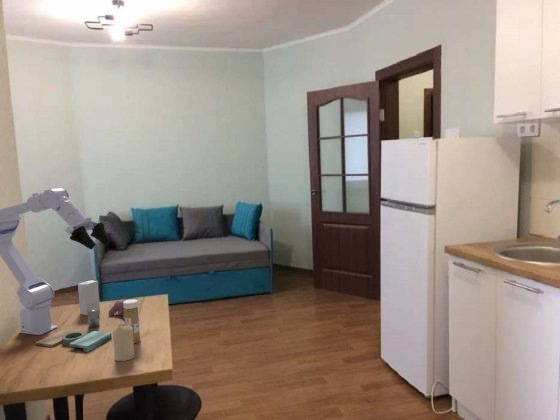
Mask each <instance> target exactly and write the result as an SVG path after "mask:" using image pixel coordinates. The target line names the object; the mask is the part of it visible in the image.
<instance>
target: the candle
mask: <svg viewBox="0 0 560 420" xmlns="http://www.w3.org/2000/svg"><path fill="white" fill-rule="evenodd" d="M112 335H113V336H112V338H113V351H114V352H113V353H114V360H115V361H118V362H126V361H129V360H132V359H134V357H135V345H134V344H135V343H134V341H133V328H132V327H131V326H130V325H128V324H125V322H124V323H122V324H121V323H120V324H119V323H118V325H116V327H115V328H114V329H113V330H112Z"/></svg>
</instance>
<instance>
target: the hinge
mask: <svg viewBox="0 0 560 420" xmlns="http://www.w3.org/2000/svg"><path fill="white" fill-rule="evenodd" d="M112 338H113V336H112V332H107V331H105V332H104V331H97V330H93V331H90V332H89V333H87V334H86V333H85V332H83V331H74V330H73V331H71V330H64V329H60V330H58V331H57V332H54V333H52V334H50V335H48V336H45V337H44V338H42V339H40V340H38V341H36V342H35V344H34V345H35V346H41V347H42V346H43V347H50V348H54V347H56V346H58V345H60V344H63V346H67V347H73V348H78V349H79V348H80V349H83V352H87V353H88V352H90V351H92V350H94V349H95V348H97V347H99V346H101V345H103V344H104V343H106V342H107V341H109V340H112Z"/></svg>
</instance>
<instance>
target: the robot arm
mask: <svg viewBox="0 0 560 420" xmlns="http://www.w3.org/2000/svg"><path fill="white" fill-rule="evenodd" d="M50 209H52V210H53V211H55V212H56V214H57V215H58V216H59V217H60V218H61V219H63V221H64V222H65V224H67V225H68V226H67V227H66V228H65V230H64V231H65V232H66V234H67V235H70V236H69V240H71V241H73V242H76V243H79V244H81V245H82V246H83V247H86V248H87V249H89V250H93V249H95V248H94V247H95V246H96V243H95V241H94V240H93V239H92V237H93V238H94V239H96V240H98V241H99V242H100V243H101V244H102V245H104V246H106V247H107V246H108V245H109V244H110V243H111V240H110V238H109V236H108V234H107V232H106V229H105V225H104V223H103V222H99V221H97V220H96V221H95V220H93V217H92V216H88V217H87V216H86V215H85V214H84V213H83V212H82V210H80V208H79V207H78V206H77V205H76V204H75V203H74V202H73V201H72V200H71V199H70V197H69V192H68V191H67V189H64V188H51V189H50V188H49V189H45V190H43V192H40V193H39V192H34V193H32V194H31V196H29V197H28V198H27V200H26V201H25V202H21V203H18V204H14V205H11V206H7V207H4V208H1V209H0V258H1V259H2V260H3V262H4V264H5V265H6V266H7V268H8V269H9V271H10V272H11V274H12V275H13V277H14V278H15V280H16V281H17V282H18V284H19V287H18V288H17V290H16V294H17V296H18V297H19V302H20V303H21V305H22V307H21V309H20V311H19V320H20V330H19V331H18V332H19V334H28V335H35V336H42V335H44V334H46V333H48V332H50V331H52V330H55V329H57V328H58V325H54V324H52V314H51V312H52V311H51V303H52V300H53V298H54V297H55V290H54V288H53V287H54V286H52V285H51V284H49V283H48V282H47V281H46V279H44V278H42V277H38V276H36V275H35V273H34V272H33V270H32V269H31V267H30V266H29V264H28V263H27V261H26V260H25V259H24V257H23V256H22V254H21V253H20V251H19V250H18V248H17V247H16V245H15V244H14V242H13V241H12V239H13V238H14V237H15V235H16V232H17V230H18V227H19V224H20V220H21V219H22V217H21V215H23V214H26V213H28V212H32V213H40V212H43V211H46V210H50ZM87 231H91V233H90V235H89V234H88V232H87Z"/></svg>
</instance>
